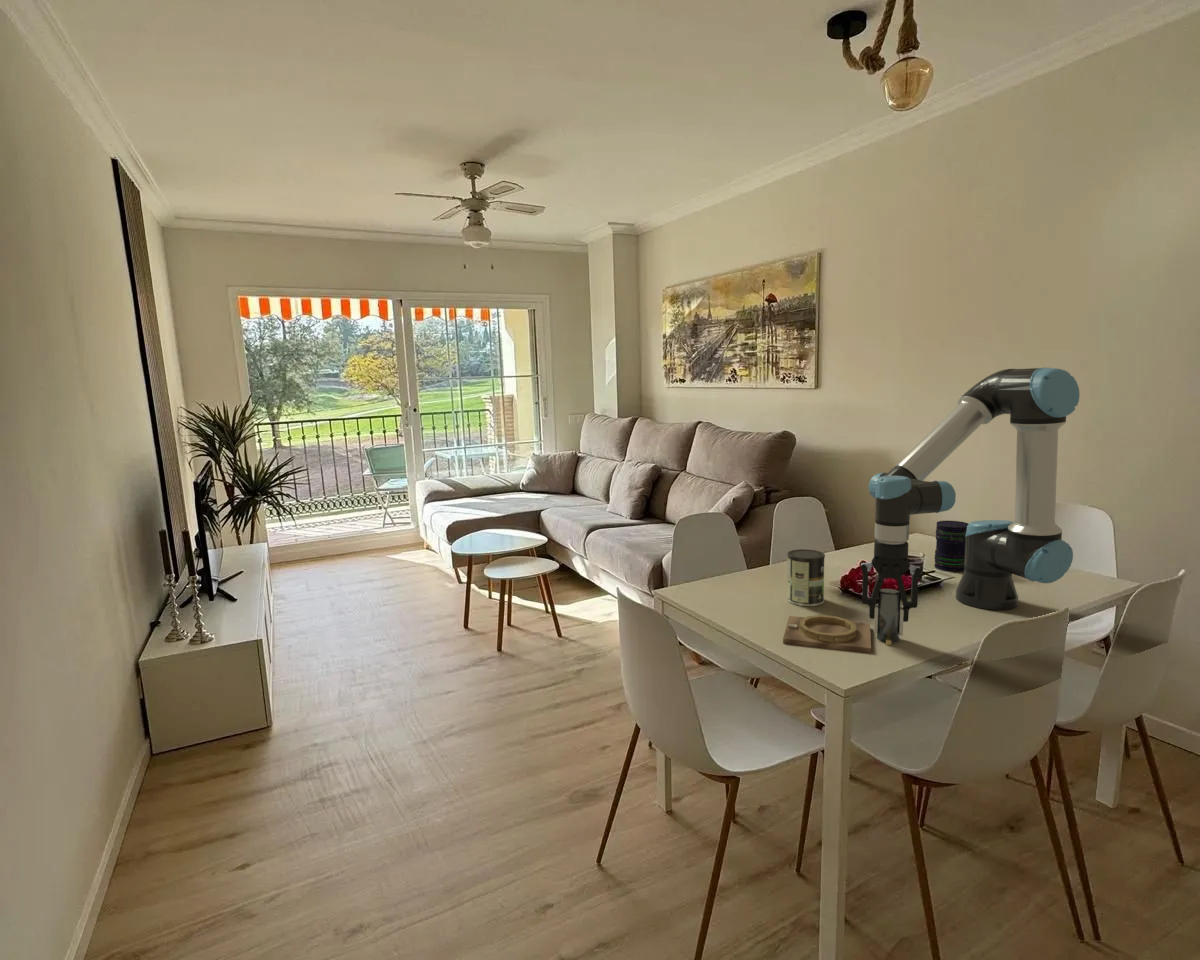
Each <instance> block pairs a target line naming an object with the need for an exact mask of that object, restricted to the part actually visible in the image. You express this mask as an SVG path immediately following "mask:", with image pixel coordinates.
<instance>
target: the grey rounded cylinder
mask: <svg viewBox="0 0 1200 960" xmlns="http://www.w3.org/2000/svg"><path fill="white" fill-rule="evenodd" d="M901 600H902V599H901V595H900V591H899V590H897V589H893V588H881V589H880V592H879V595H878V598H877V604H878V629H877V633H876V639H877V640H878V641H880V642H883V643H885V646H892V644H895V643H898V642H899V641H900V635H899V623H900V606H901Z"/></svg>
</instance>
